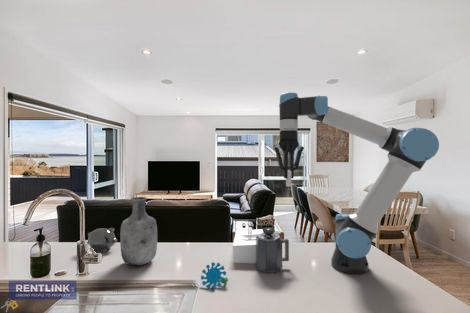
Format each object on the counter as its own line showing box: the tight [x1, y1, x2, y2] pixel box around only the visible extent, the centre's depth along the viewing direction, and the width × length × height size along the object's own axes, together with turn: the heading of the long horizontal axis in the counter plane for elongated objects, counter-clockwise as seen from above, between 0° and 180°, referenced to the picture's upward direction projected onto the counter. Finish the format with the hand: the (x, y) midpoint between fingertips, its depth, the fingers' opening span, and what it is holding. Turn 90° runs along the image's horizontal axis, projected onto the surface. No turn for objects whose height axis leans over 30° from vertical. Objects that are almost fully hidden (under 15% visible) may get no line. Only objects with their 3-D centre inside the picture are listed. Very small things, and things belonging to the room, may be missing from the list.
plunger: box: [263, 227, 275, 237], centre depth 116 cm, size 8×8×14 cm
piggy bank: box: [87, 227, 118, 254], centre depth 139 cm, size 11×15×12 cm
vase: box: [119, 196, 158, 266], centre depth 123 cm, size 16×16×30 cm
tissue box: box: [232, 226, 264, 264], centre depth 133 cm, size 14×25×11 cm, turn 176°
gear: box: [200, 261, 229, 290], centre depth 103 cm, size 11×6×10 cm
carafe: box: [255, 232, 290, 275], centre depth 116 cm, size 14×11×14 cm
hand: (288, 186), depth 113 cm, fingers closed
